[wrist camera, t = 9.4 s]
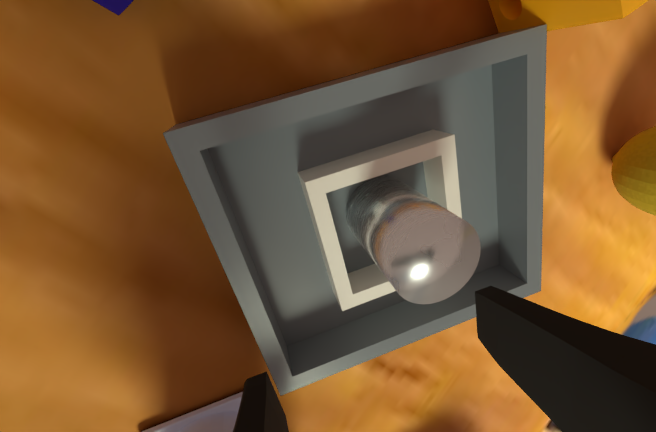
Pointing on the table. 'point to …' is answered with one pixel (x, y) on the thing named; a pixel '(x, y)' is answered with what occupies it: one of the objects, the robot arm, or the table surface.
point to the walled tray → (354, 169)
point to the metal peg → (413, 239)
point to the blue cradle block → (115, 5)
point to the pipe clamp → (558, 12)
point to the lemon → (637, 171)
